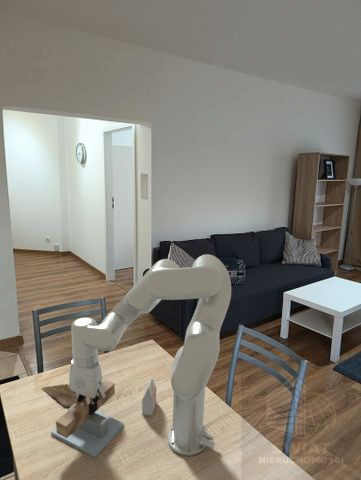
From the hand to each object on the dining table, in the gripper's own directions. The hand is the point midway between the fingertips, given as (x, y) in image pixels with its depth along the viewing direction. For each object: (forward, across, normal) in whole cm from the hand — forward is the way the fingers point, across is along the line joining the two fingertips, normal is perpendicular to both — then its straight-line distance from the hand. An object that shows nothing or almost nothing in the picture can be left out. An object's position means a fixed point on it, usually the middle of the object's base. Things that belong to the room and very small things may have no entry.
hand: (87, 409), depth 104 cm
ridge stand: (+8, 0, 0) cm, 8 cm away
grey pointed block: (+8, +12, +18) cm, 23 cm away
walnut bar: (+1, 0, 0) cm, 1 cm away
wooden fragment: (+8, -17, +9) cm, 21 cm away
